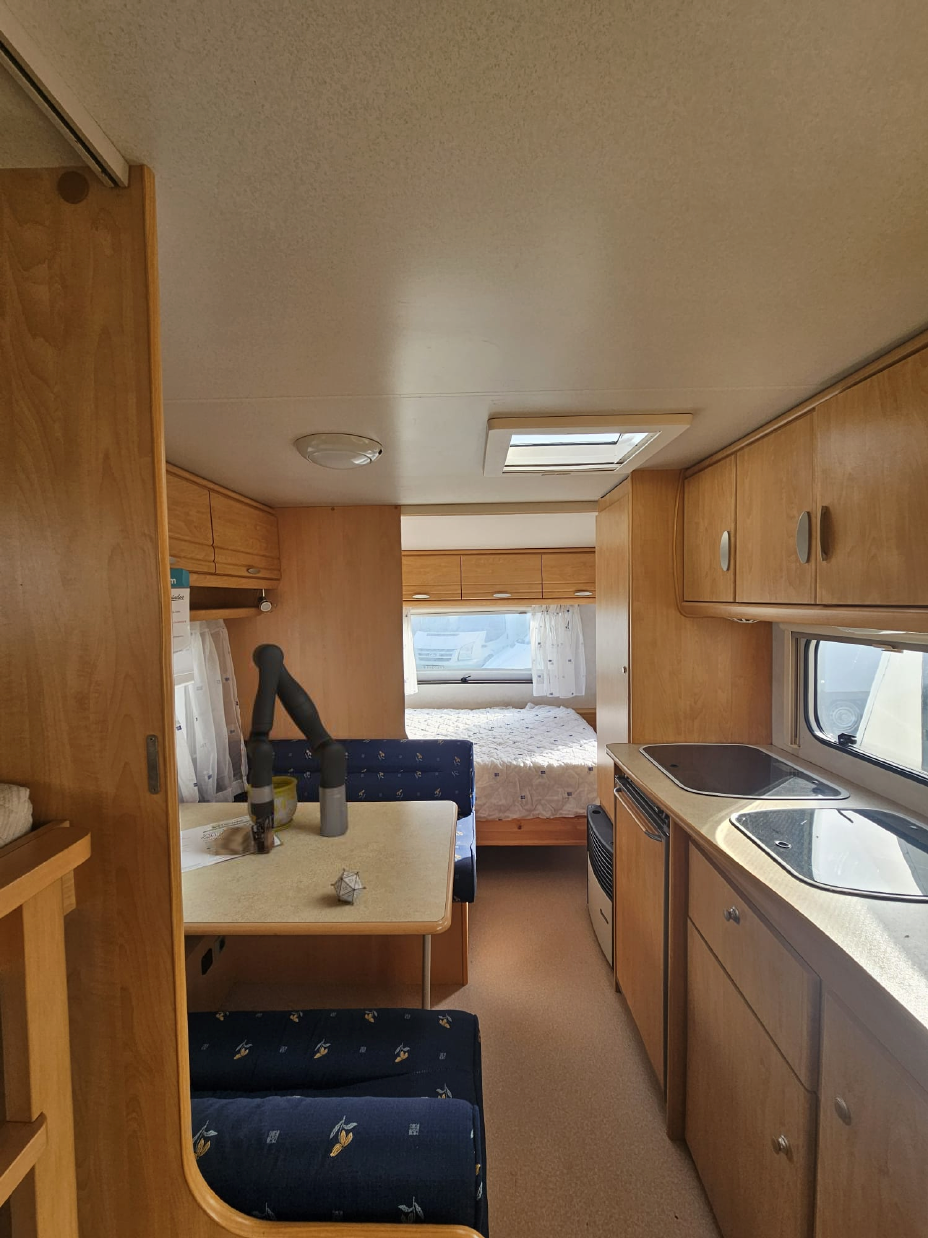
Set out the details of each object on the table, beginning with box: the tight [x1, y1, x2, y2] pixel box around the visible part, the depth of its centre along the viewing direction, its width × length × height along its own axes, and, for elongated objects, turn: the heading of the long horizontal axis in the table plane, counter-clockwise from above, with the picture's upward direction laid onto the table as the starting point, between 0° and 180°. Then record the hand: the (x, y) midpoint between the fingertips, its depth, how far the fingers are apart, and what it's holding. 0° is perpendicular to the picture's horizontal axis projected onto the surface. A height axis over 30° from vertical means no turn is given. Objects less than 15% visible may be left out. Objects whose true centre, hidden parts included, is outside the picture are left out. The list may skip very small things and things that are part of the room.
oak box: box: [214, 826, 254, 857], centre depth 179 cm, size 9×9×6 cm
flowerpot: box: [246, 775, 298, 833], centre depth 198 cm, size 18×18×16 cm
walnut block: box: [253, 829, 276, 855], centre depth 177 cm, size 5×5×6 cm
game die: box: [329, 867, 367, 906], centre depth 143 cm, size 9×8×10 cm
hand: (264, 848), depth 177 cm, fingers closed on walnut block, 5 cm apart
